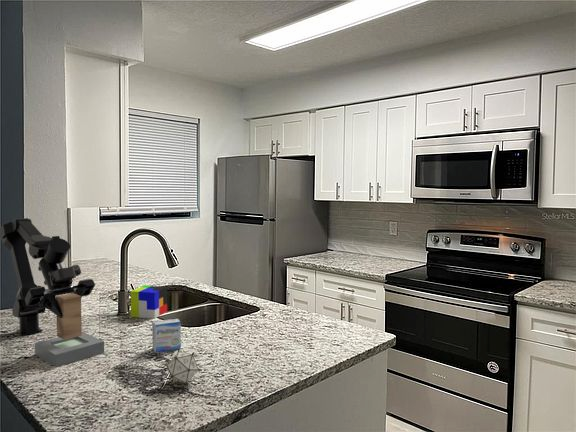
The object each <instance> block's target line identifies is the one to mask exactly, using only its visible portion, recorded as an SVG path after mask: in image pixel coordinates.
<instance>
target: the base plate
mask: <svg viewBox="0 0 576 432" xmlns="http://www.w3.org/2000/svg"><path fill="white" fill-rule="evenodd" d="M104 353H105V340H102V339H100V338H97V337H95V336H93V335H91V334H88V333H86V332H84V331H82V336H78V337H74V338H70V339H66V340H64V339H62V338H60V337H58V336H56V337H53V338H50V339H46V340H41V341H38V342H35V343H34V355H35V356H36V357H38V358H40V359H41V360H43V361H45V362H47V363H48V364H49V365H52V366H53V367H55V368H58V367H61V366H64V365H68V364H71V363H74V362H78V361H81V360H84V359H87V358H88V359H89V358H91V357H94V356H98V355H101V354H104Z"/></svg>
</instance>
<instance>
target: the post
mask: <svg viewBox="0 0 576 432" xmlns="http://www.w3.org/2000/svg"><path fill="white" fill-rule="evenodd" d="M56 301H57V303H58V305H59V307H60V309H61V312H62V315H63V317H62V318H60V317H58V316H57V315H56V314H55V316H56V337H60V338H62V339H64V340H66V339H70V338H74V337H78V336H82V332H83V331H82V327H83V326H82V323H83V322H82V297H81V296H79V295H77V294H74V293H72V294H71V293H69V294H63V295H58V296H56Z"/></svg>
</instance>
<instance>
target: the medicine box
mask: <svg viewBox="0 0 576 432" xmlns="http://www.w3.org/2000/svg"><path fill="white" fill-rule="evenodd" d="M151 323H152V327H151V329H152V332H151V333H152V336H151V337H152V339H151V340H152V350H153V351H154V353H155V354H156V353H162V352H170V351H175V350H178V349H179V350H180V349H181V347H182V344H181V343H182V342H181V341H182V337H181V335H182V334H181V333H182V329H181V328H182V327H181V326H182V324H181V321H180V319H179V318H172V319H164V320H157V321H156V320H155V321H152V322H151Z"/></svg>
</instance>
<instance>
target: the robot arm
mask: <svg viewBox="0 0 576 432" xmlns="http://www.w3.org/2000/svg"><path fill="white" fill-rule="evenodd" d="M0 239H1V242H2V244H3V246H5V248H6V249H8V250H9V252H10V255H11V260H12V264H13V267H14V272H15V276H16V280H17V284H18V291H17V293H16V295H15V302H14V304H13V306H12V308H11V311H12V312H11V313H12V316H14V317H16V318H17V319H18V321H19V323H18V324H19V329H16V330H15V332H16V333H18V335H20V336H21V337H23V336H27V335H28V336H29V335H32V334H37V333H42V332H43V329H42V328H41V327H40V319H39V317H40V315H39V314H44V313H45V311H46V309H47V310H49V311H50V312H52V313H53V314H54V315H55V316H56V315H57V316H58V317H60V318H62V317H63V315H62V312H61V309H60V307H59V305H58V303H57V301H56V296H61V295H66V294H72V293H74V294H77V295H79V296H81V298H82V297H86V296H90V295H91V293H92V291H93V290H94V289H95V286H96V283H95V281H94V280H93V279H92V278H87V279H86V278H85V279H81V280H79V281H78V283H77V285H72V284H73V282H74V281H73V279H77V277H78V276H80V275H81V274H82V271H81V267H80V265H79V264H73V265H71V266H70V267H63V266H62V263H64V261H65V259H66V258H67V255H68V254H69V251H70V249H71V244H70V242H68V241H67V240H66V239H63V238H61V237H60V236H59V235H54V236H53V235H52V236H51V237H50V236H48V235H47V236H46V235H43V234H42V233H41V232H40V230H39V229H38V228H37V227H36V226H35V225H34V224H33V222H32V220H31V218H28V217H27V218H25V217H24V218H22V217H21V218H15V219H12V220H11V221H10V222H8V223H5V224H2V225H1V227H0ZM26 244H28V251H27V248H26ZM28 253H29V255H28ZM29 256H30V257H31V258H32V259H33V260H37V259H40V260H39V262H38V271H39V272H41V273H42V276H43V279H44V282H43V284H44V286H41V285H37V284H36V283H35V280H34V276H33V271H32V268H31V263H30V260H29ZM71 285H72V286H71ZM45 286H46V287H47V288H45Z"/></svg>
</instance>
